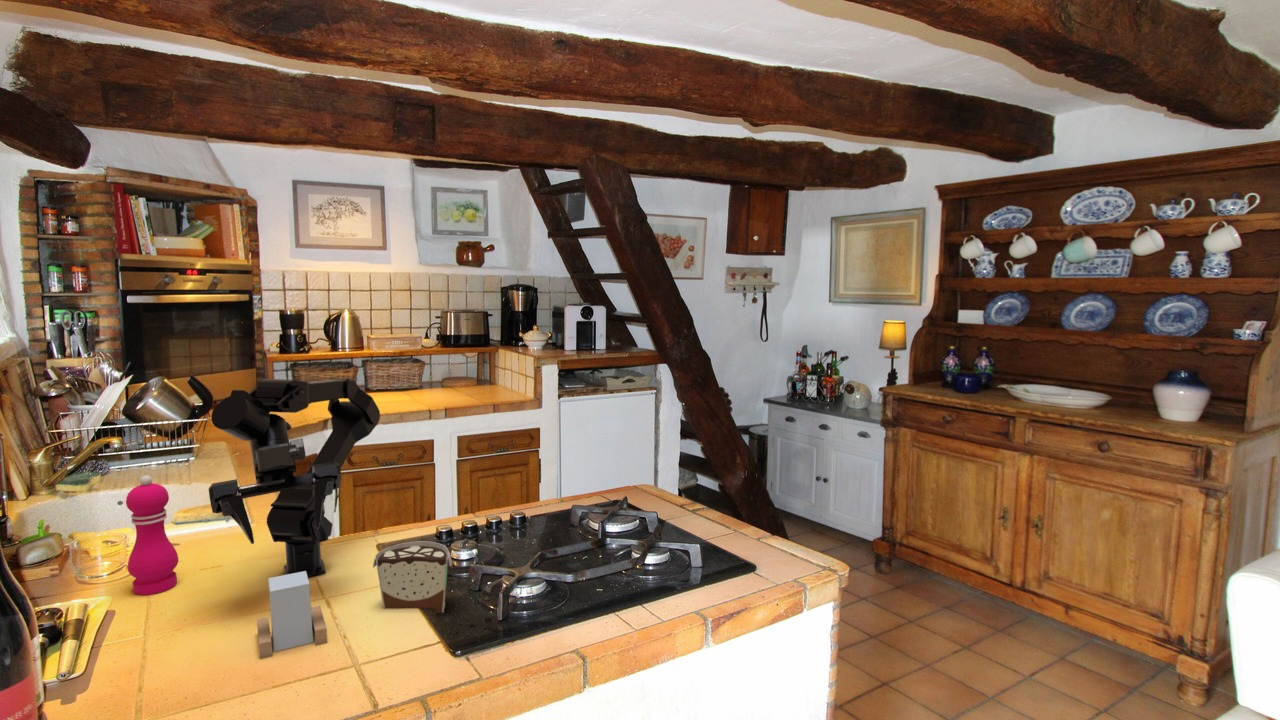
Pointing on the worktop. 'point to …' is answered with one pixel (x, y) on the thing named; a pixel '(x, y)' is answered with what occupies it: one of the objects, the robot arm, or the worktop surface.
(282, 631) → the block
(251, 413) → the robot arm
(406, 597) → the food container
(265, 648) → the tan cradle
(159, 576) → the pepper mill
